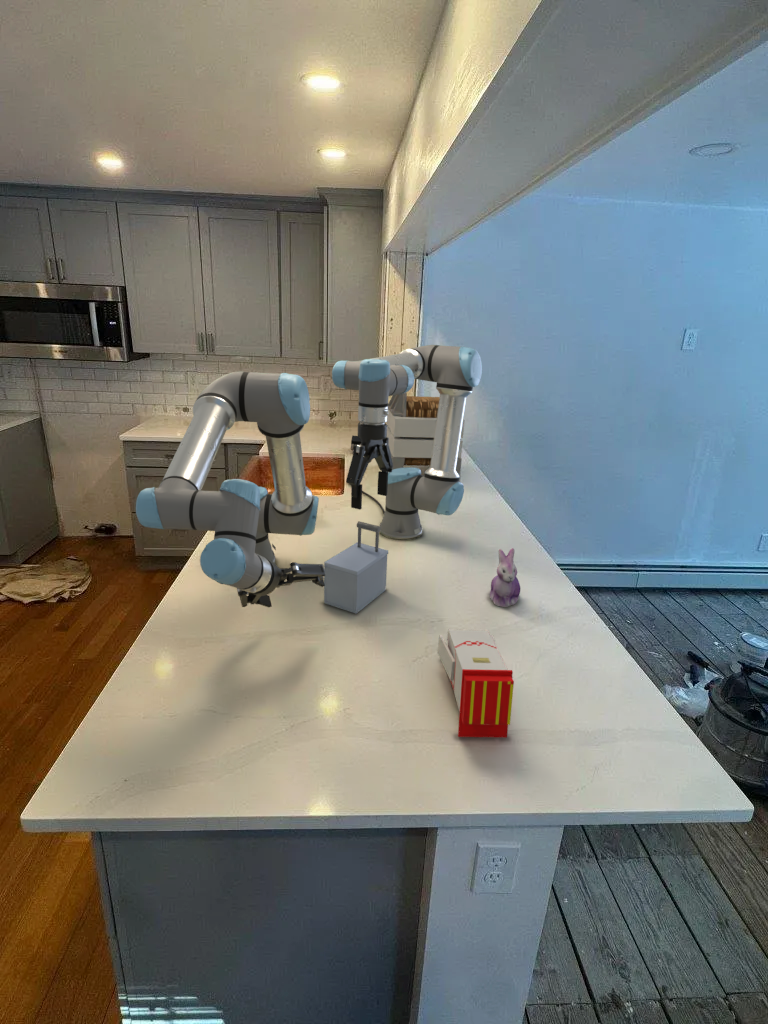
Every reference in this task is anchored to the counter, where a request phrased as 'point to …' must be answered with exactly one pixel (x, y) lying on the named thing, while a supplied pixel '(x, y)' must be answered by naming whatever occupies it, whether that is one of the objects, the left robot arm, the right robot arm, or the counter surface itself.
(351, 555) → the lid
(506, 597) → the figurine
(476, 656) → the toy
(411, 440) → the white slatted crate
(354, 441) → the figurine character
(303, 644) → the counter surface
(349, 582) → the chest
